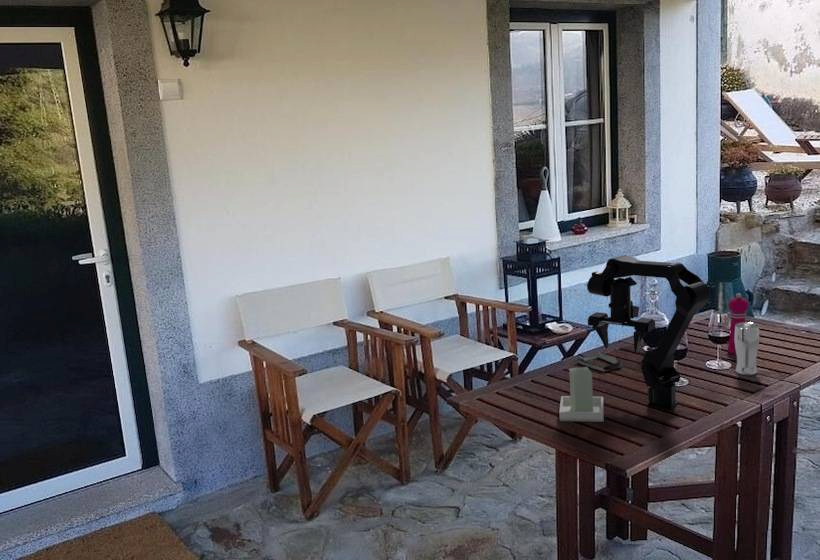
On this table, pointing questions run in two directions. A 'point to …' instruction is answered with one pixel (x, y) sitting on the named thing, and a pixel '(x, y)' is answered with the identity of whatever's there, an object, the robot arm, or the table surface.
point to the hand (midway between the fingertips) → (621, 350)
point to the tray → (569, 415)
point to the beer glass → (746, 347)
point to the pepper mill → (736, 317)
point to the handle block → (581, 389)
